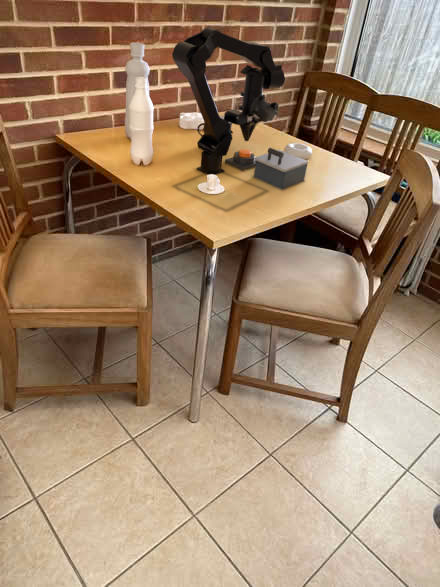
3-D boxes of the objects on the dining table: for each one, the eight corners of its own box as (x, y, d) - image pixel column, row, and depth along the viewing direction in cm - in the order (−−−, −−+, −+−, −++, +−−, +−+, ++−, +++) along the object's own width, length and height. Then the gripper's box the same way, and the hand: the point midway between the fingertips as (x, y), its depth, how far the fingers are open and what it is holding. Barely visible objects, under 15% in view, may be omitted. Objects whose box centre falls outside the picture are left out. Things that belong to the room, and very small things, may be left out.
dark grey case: (282, 190, 139) (286, 171, 135) (253, 177, 144) (256, 159, 141) (303, 181, 146) (307, 163, 142) (275, 169, 152) (278, 152, 148)
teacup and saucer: (211, 180, 139) (212, 168, 137) (231, 189, 135) (233, 176, 133) (191, 188, 133) (192, 175, 131) (212, 197, 130) (214, 184, 127)
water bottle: (149, 168, 141) (149, 82, 126) (127, 164, 142) (124, 78, 127) (156, 160, 147) (157, 77, 132) (135, 156, 148) (133, 73, 133)
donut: (289, 148, 169) (279, 155, 162) (290, 139, 167) (281, 146, 160) (314, 155, 166) (305, 163, 159) (316, 146, 164) (307, 153, 157)
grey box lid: (284, 172, 135) (287, 157, 132) (254, 159, 140) (256, 145, 138) (307, 163, 142) (310, 149, 140) (278, 151, 148) (280, 138, 145)
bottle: (120, 135, 162) (117, 41, 144) (144, 133, 167) (144, 41, 149) (131, 144, 157) (130, 46, 139) (155, 141, 161) (156, 46, 143)
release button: (245, 159, 149) (245, 154, 148) (236, 155, 151) (236, 150, 150) (252, 156, 151) (253, 152, 150) (243, 153, 153) (244, 148, 152)
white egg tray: (212, 118, 190) (227, 129, 180) (171, 119, 183) (185, 131, 172) (213, 109, 188) (228, 121, 177) (172, 111, 181) (185, 122, 170)
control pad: (242, 170, 148) (244, 162, 146) (224, 162, 152) (225, 154, 150) (261, 164, 154) (263, 155, 152) (244, 156, 158) (245, 148, 156)
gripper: (254, 100, 129) (246, 154, 138) (292, 93, 140) (283, 143, 150) (225, 90, 134) (220, 143, 144) (264, 84, 146) (257, 133, 155)
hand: (246, 140), depth 148 cm, fingers closed
